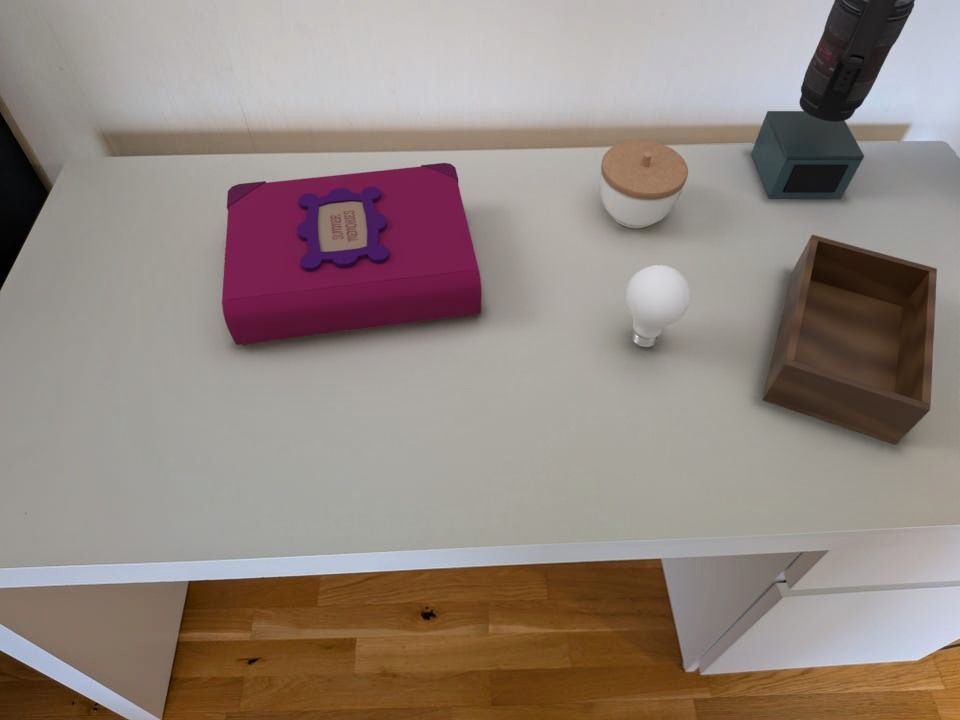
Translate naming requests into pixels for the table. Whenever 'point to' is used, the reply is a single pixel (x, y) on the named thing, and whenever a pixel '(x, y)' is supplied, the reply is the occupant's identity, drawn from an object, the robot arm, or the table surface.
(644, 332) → the light bulb
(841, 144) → the cabinet block
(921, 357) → the wooden box
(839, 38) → the camera lens
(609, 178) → the trinket box
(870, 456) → the table surface
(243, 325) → the book
